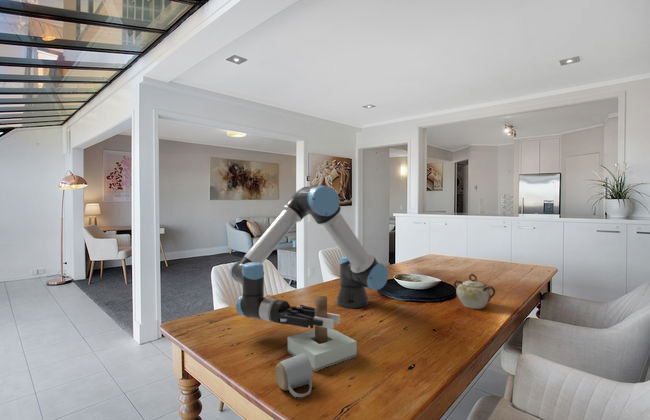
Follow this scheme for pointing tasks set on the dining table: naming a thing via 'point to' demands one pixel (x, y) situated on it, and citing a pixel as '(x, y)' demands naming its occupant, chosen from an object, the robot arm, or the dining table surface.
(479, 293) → the sugar bowl
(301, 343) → the socket block
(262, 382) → the dining table surface
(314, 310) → the robot arm
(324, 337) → the dowel
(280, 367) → the ceramic mug
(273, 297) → the tan rounded lump
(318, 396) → the dining table surface
